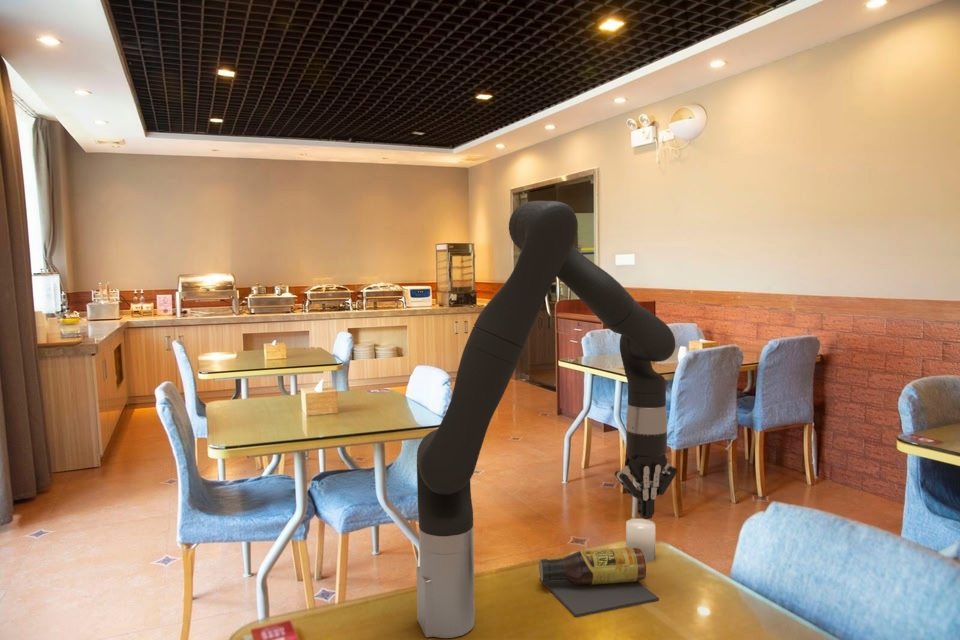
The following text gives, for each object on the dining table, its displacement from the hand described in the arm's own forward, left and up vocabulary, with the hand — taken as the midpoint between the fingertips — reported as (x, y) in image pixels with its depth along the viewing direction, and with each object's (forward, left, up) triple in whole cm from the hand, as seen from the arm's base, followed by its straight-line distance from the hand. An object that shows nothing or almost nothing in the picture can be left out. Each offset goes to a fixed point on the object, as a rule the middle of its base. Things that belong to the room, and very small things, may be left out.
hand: (646, 517), depth 125 cm
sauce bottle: (0, +1, -9) cm, 9 cm away
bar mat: (-10, +1, -13) cm, 16 cm away
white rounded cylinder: (+6, +11, -13) cm, 18 cm away
